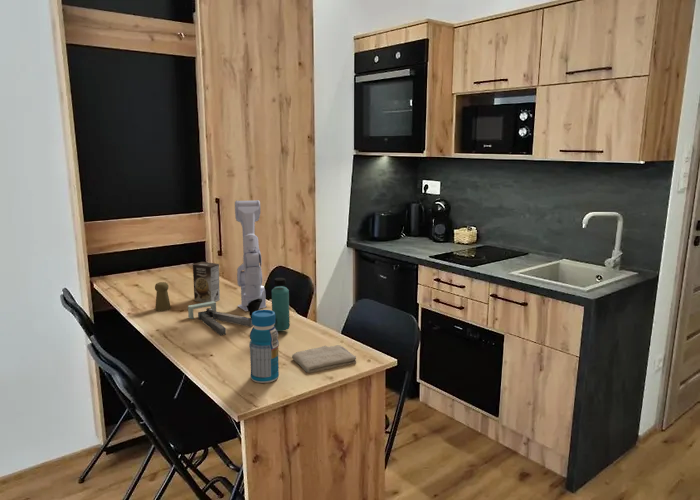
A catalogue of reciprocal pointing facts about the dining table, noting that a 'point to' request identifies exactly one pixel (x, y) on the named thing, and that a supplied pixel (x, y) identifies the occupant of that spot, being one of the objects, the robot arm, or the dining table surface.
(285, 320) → the beverage bottle
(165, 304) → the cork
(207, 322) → the tong base
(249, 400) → the dining table surface
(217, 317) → the tong arm
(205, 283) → the coffee box
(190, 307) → the pale green notched block
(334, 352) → the washcloth
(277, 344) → the beverage bottle
